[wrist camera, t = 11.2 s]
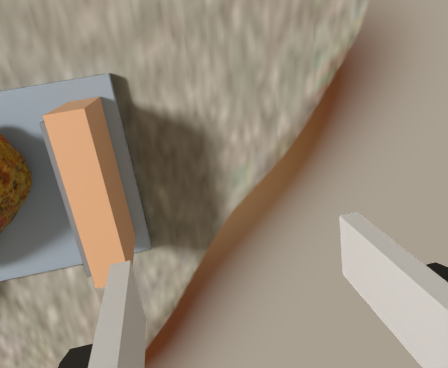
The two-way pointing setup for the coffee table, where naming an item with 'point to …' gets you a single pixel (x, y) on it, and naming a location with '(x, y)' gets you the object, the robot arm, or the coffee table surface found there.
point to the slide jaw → (90, 185)
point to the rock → (12, 182)
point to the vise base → (46, 180)
